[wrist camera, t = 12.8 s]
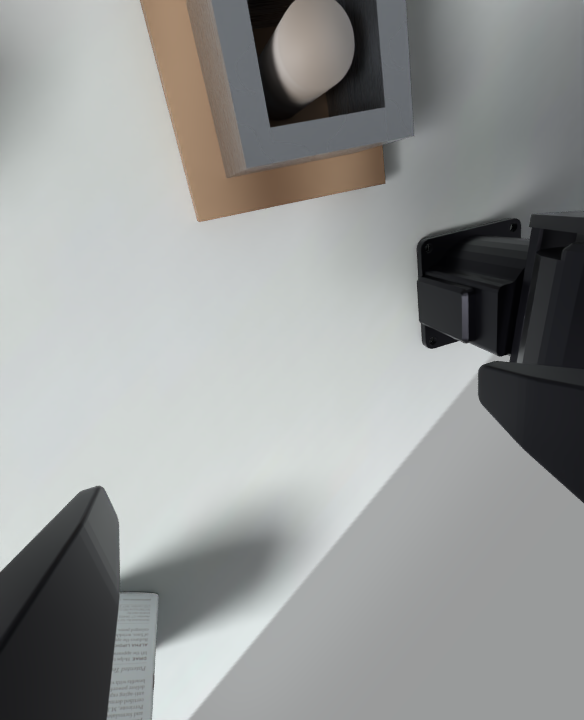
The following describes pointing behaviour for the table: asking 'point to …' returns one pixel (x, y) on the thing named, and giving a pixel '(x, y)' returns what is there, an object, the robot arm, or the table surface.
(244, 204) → the post stand
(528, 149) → the table surface
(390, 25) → the grey square sleeve
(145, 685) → the skincare box
